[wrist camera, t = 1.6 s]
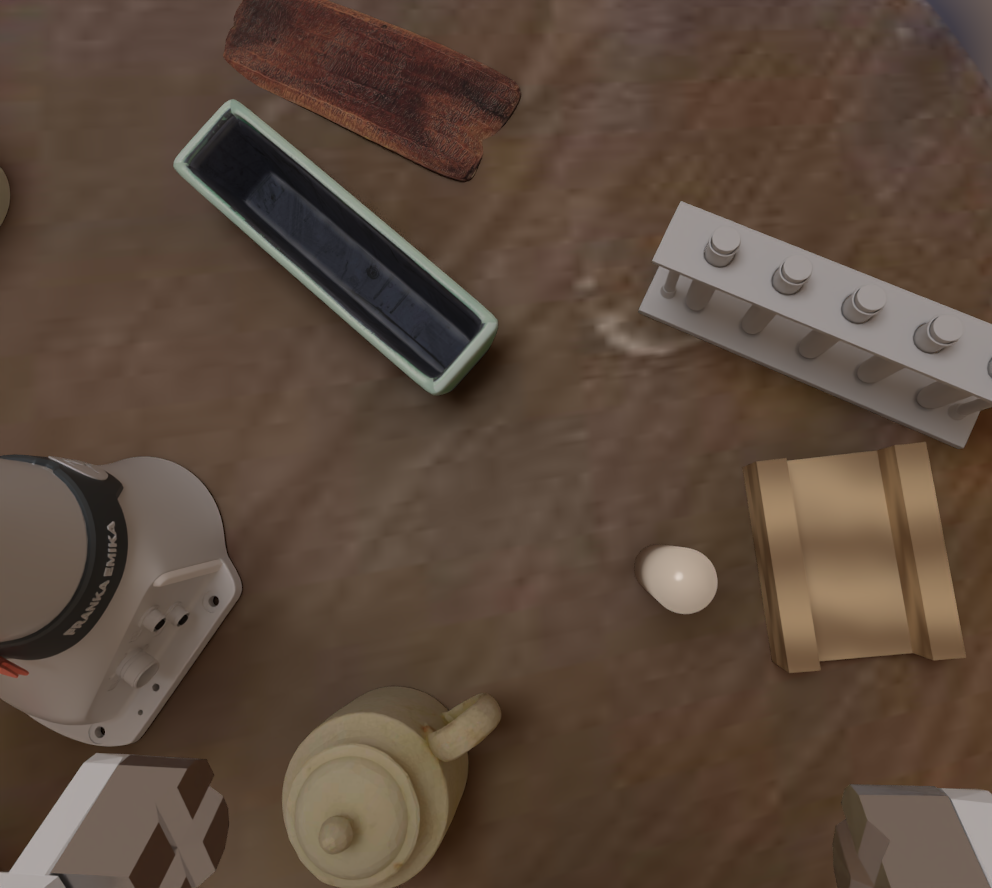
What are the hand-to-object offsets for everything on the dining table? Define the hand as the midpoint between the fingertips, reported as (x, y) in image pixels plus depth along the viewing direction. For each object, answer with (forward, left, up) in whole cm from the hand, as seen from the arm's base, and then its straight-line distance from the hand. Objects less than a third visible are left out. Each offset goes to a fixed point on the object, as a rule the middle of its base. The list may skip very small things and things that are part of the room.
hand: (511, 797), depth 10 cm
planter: (+15, +25, -47) cm, 55 cm away
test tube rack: (+22, -9, -47) cm, 53 cm away
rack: (+9, -17, -46) cm, 50 cm away
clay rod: (+3, -6, -46) cm, 47 cm away
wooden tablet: (+31, +32, -47) cm, 65 cm away
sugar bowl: (-16, +6, -47) cm, 50 cm away
